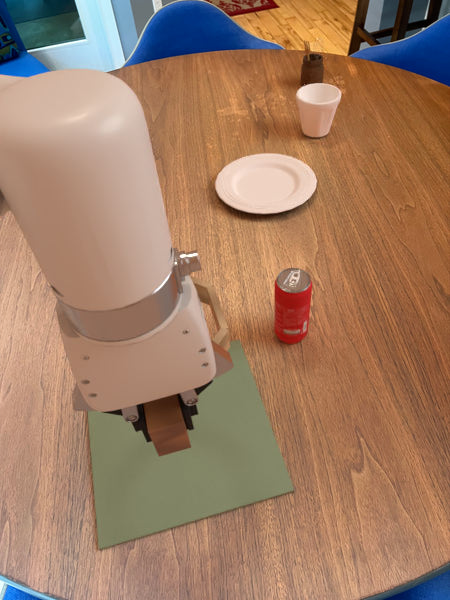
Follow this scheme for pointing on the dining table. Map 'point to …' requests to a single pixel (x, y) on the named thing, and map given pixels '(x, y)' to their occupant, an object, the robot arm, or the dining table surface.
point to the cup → (317, 108)
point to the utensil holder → (312, 66)
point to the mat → (187, 463)
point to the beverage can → (292, 305)
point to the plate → (265, 183)
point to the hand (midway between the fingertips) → (167, 420)
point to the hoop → (166, 411)
